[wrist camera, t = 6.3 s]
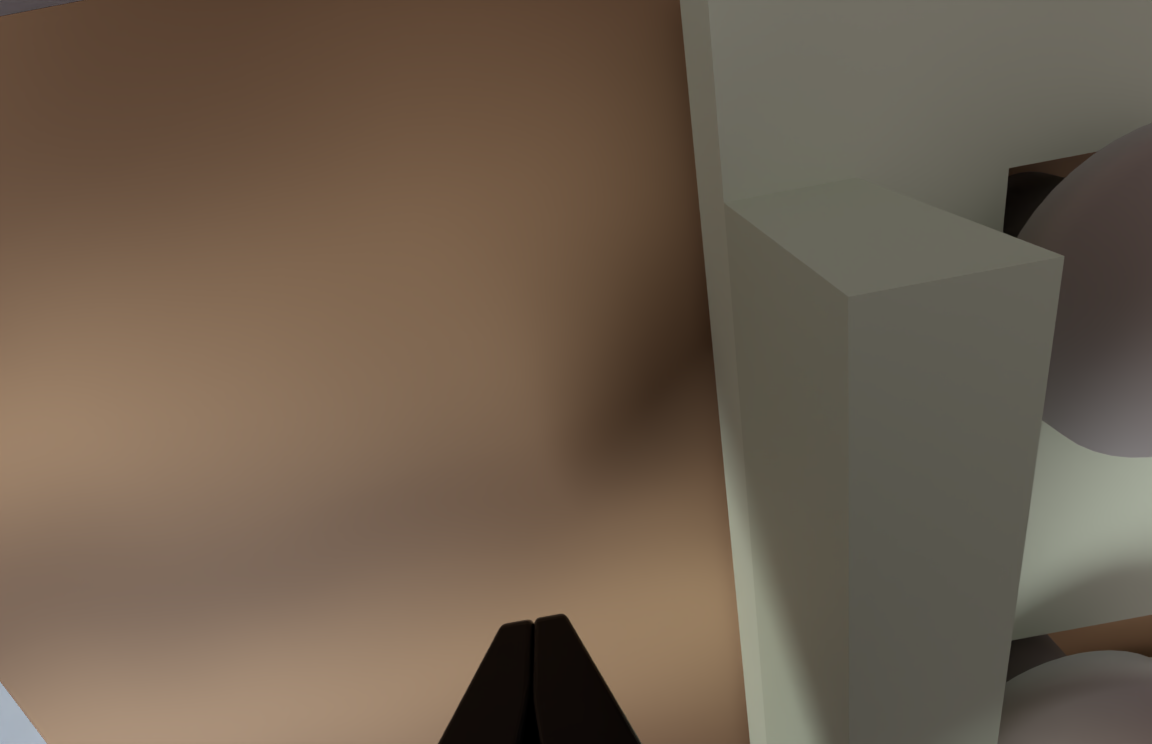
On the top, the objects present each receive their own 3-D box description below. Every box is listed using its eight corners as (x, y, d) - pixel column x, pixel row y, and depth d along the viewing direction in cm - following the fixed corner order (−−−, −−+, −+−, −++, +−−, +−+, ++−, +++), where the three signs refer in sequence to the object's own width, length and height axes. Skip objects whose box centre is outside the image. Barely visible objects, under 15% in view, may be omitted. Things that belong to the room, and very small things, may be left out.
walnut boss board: (1400, 664, 15) (1651, 840, 11) (201, 884, 15) (112, 1117, 12) (1882, -335, 8) (2850, -608, 5) (-353, 96, 8) (-947, 128, 5)
